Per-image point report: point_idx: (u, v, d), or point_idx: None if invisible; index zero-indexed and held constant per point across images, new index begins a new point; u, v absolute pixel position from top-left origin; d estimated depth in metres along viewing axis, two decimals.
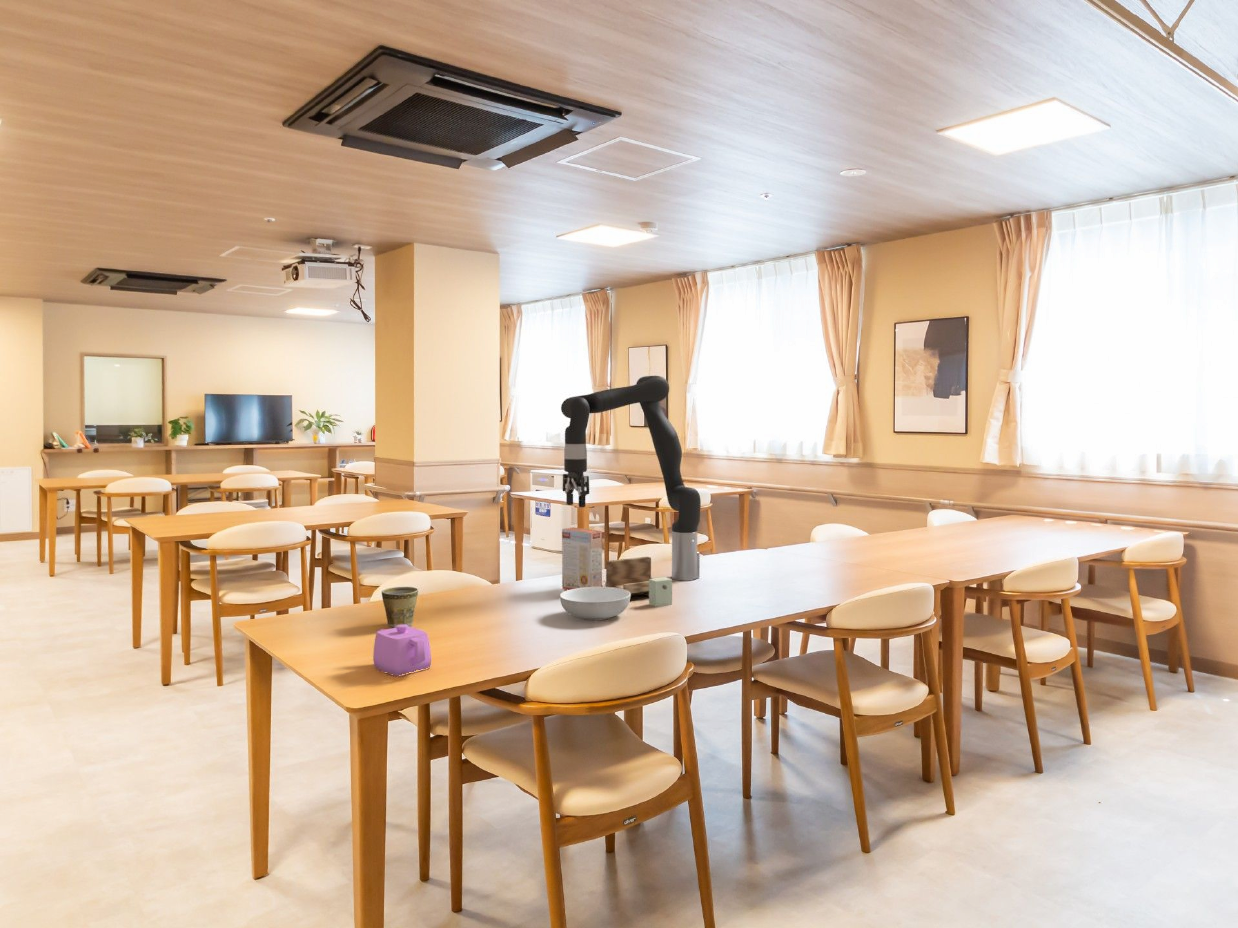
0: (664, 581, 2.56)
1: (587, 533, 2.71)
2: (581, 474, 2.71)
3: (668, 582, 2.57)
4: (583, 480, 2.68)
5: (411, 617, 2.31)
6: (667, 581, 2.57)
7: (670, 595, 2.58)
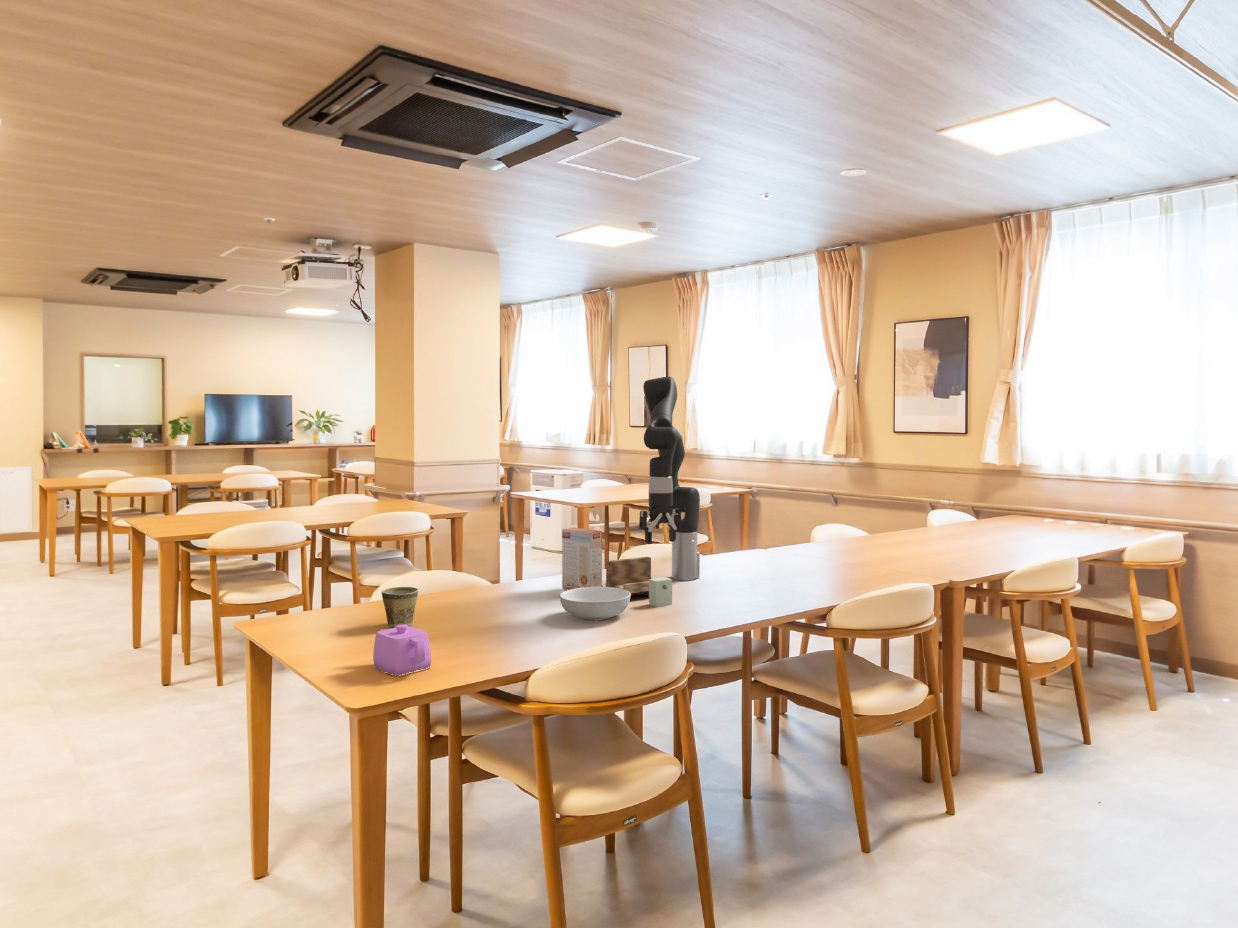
0: (664, 581, 2.56)
1: (587, 533, 2.71)
2: None
3: (668, 582, 2.57)
4: None
5: (411, 617, 2.31)
6: (667, 581, 2.57)
7: (670, 595, 2.58)
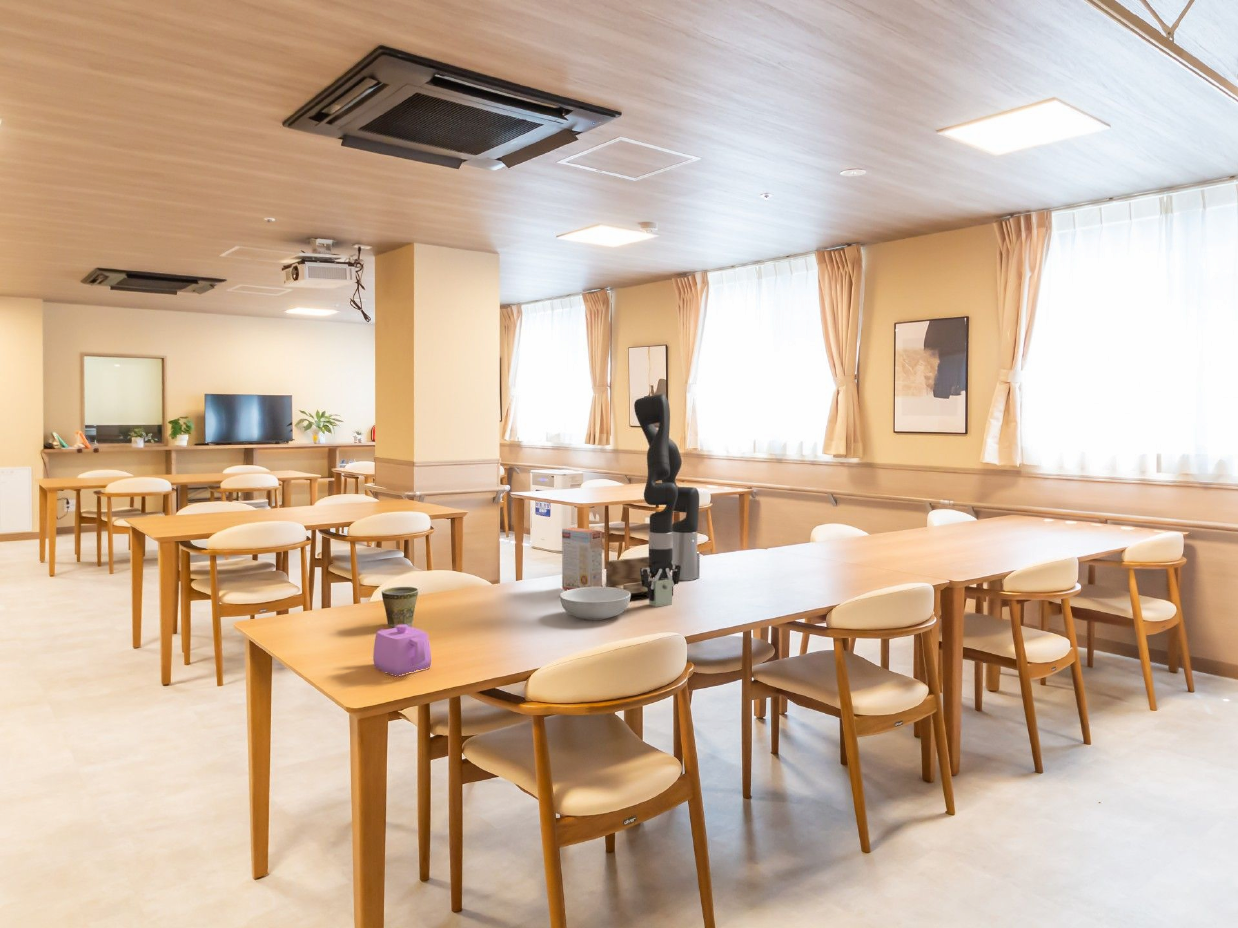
0: (664, 581, 2.56)
1: (587, 533, 2.71)
2: None
3: (668, 582, 2.57)
4: None
5: (411, 617, 2.31)
6: (667, 581, 2.57)
7: (670, 595, 2.58)
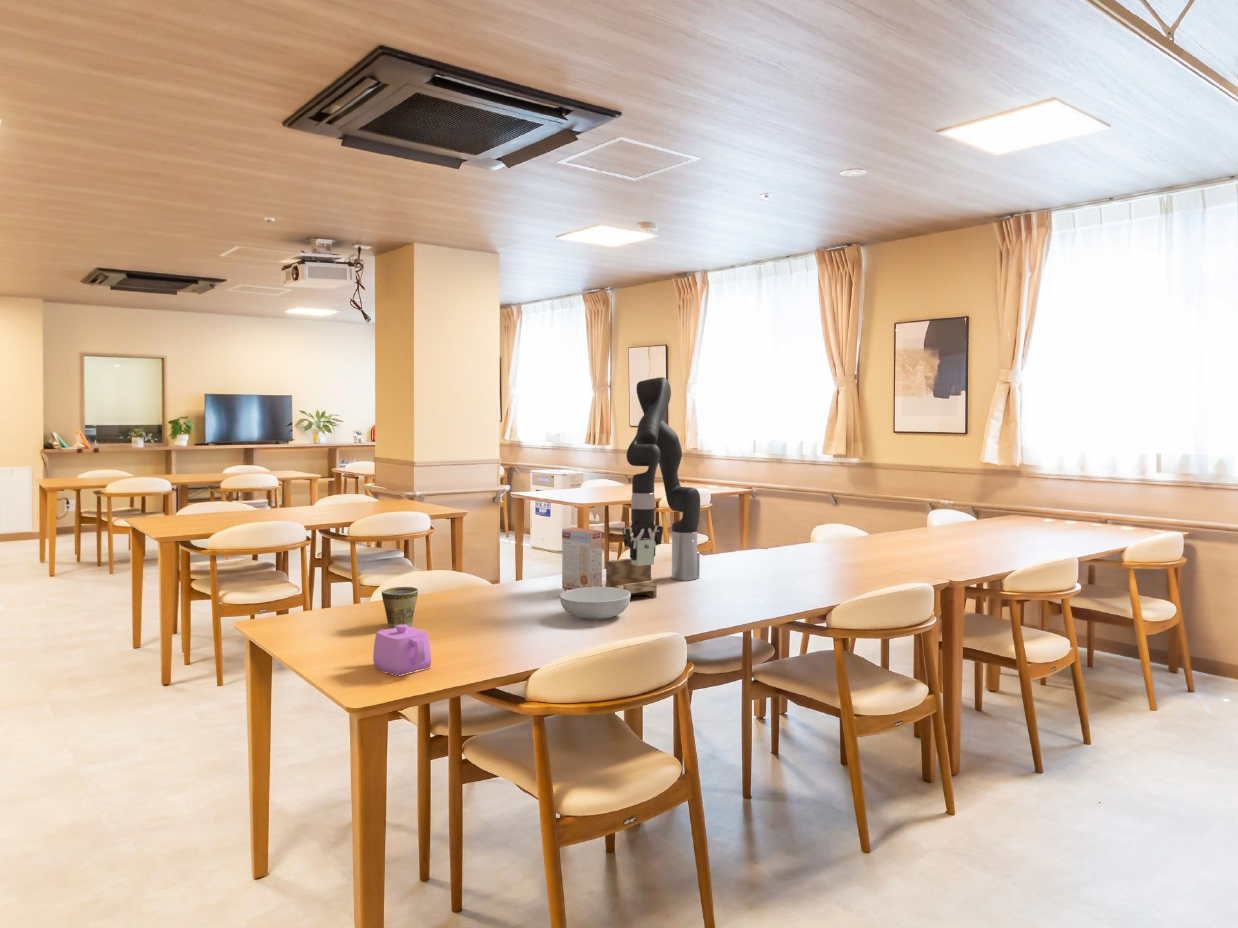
0: (646, 541, 2.61)
1: (587, 533, 2.71)
2: None
3: (650, 542, 2.61)
4: None
5: (411, 617, 2.31)
6: (649, 541, 2.61)
7: (652, 555, 2.62)
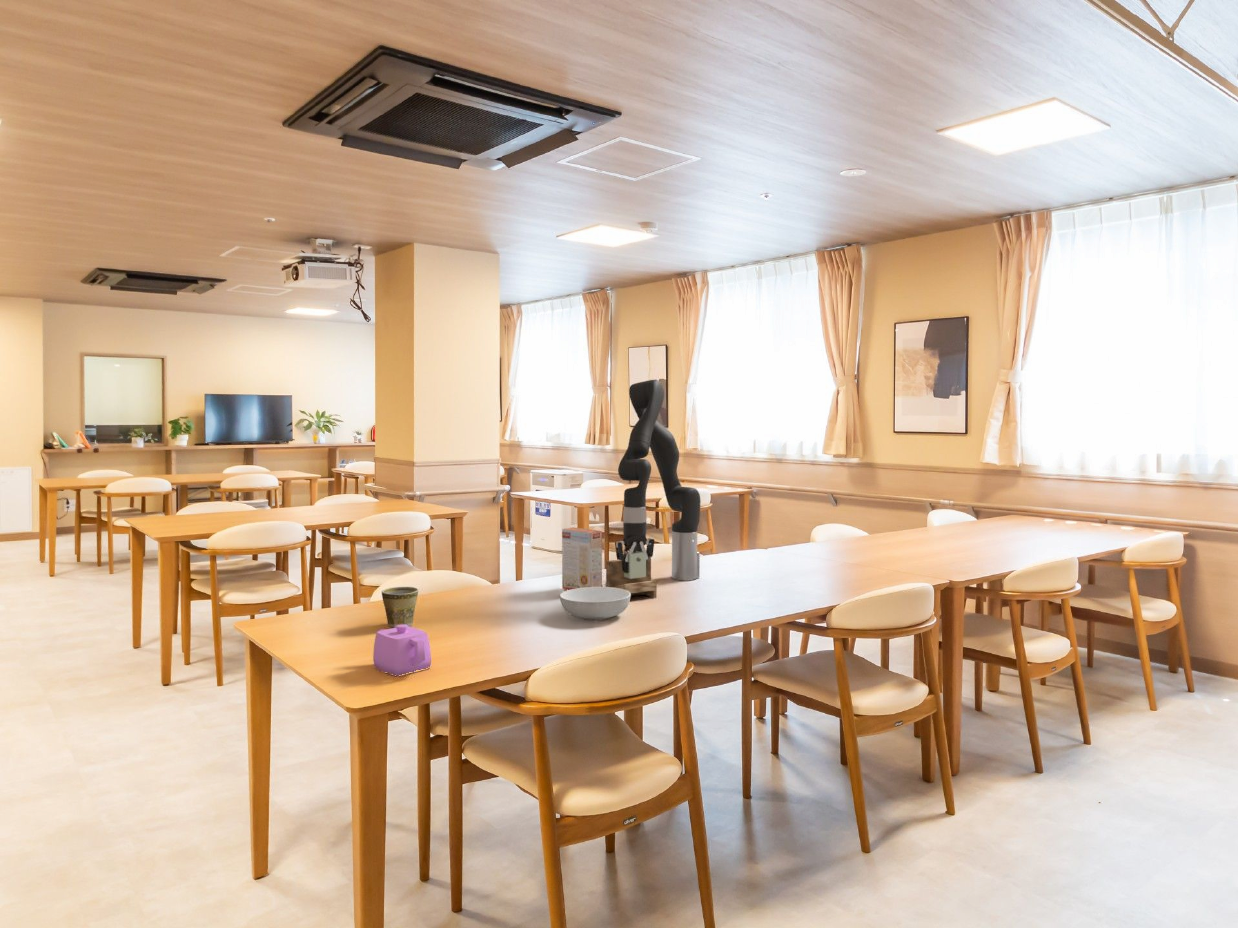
0: (638, 554, 2.66)
1: (587, 533, 2.71)
2: None
3: (642, 555, 2.66)
4: None
5: (411, 617, 2.31)
6: (641, 554, 2.66)
7: (644, 567, 2.67)
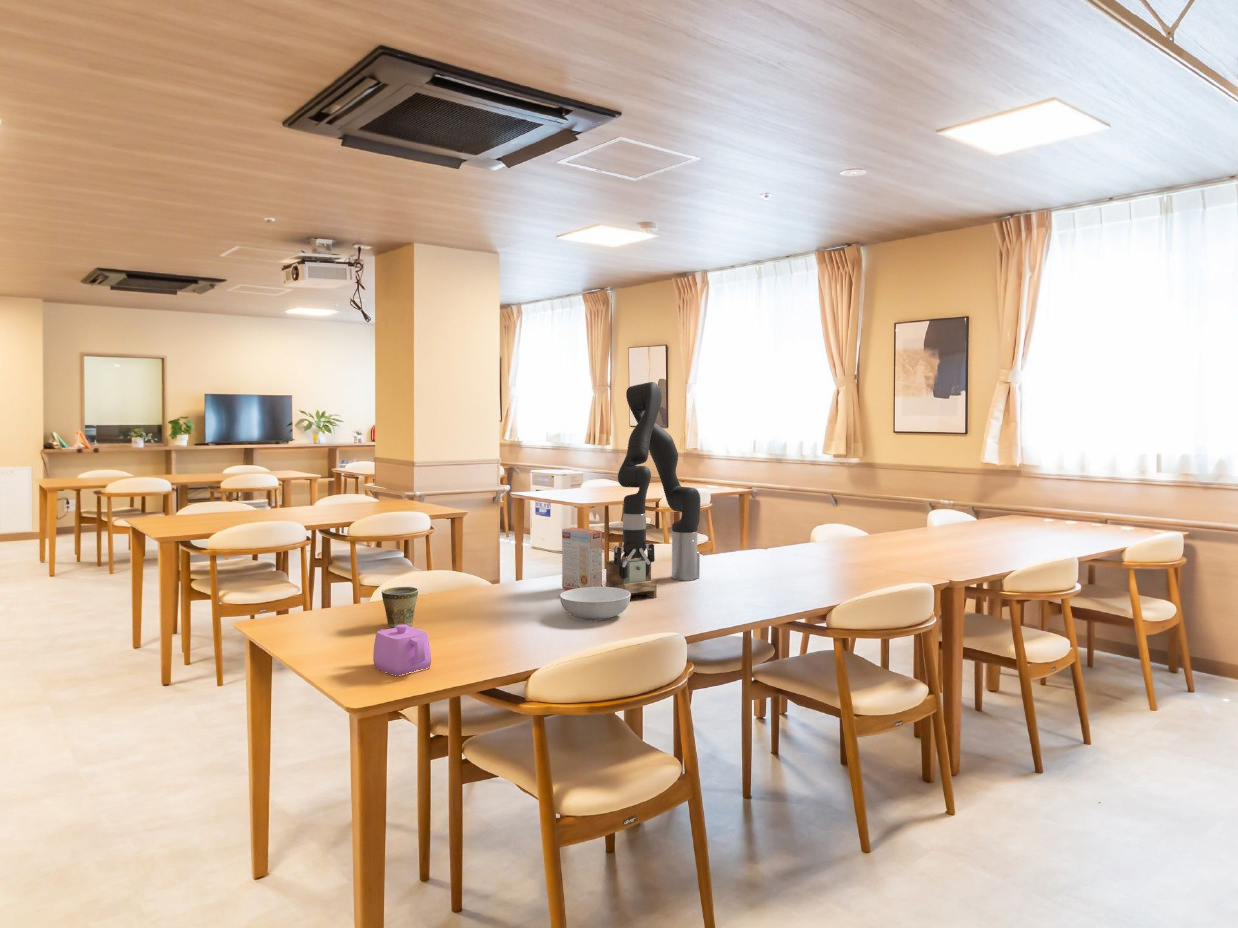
0: (638, 562, 2.66)
1: (587, 533, 2.71)
2: None
3: (642, 563, 2.67)
4: None
5: (411, 617, 2.31)
6: (641, 562, 2.66)
7: (644, 576, 2.67)
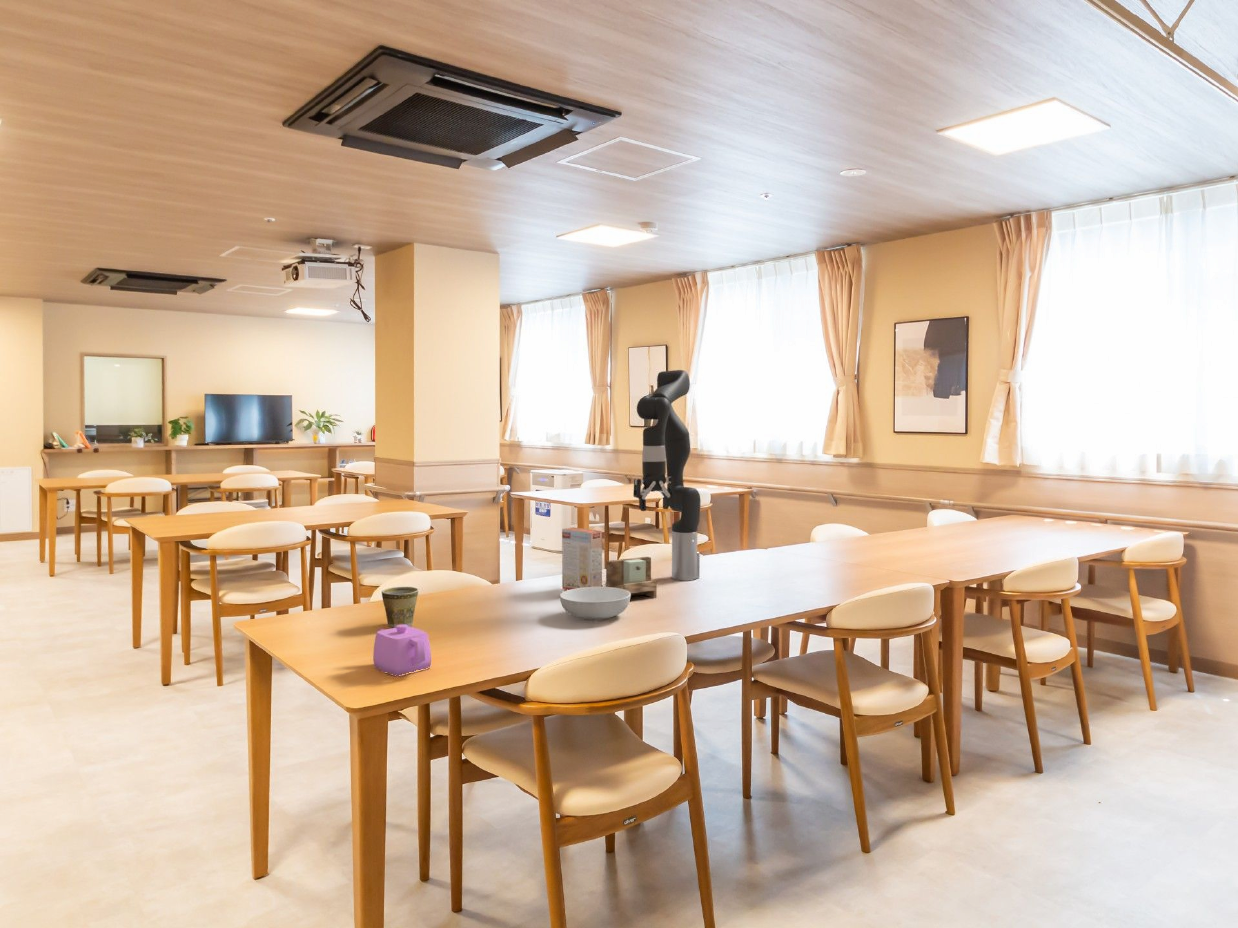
0: (638, 562, 2.66)
1: (587, 533, 2.71)
2: None
3: (642, 563, 2.67)
4: None
5: (411, 617, 2.31)
6: (641, 562, 2.66)
7: (644, 576, 2.67)
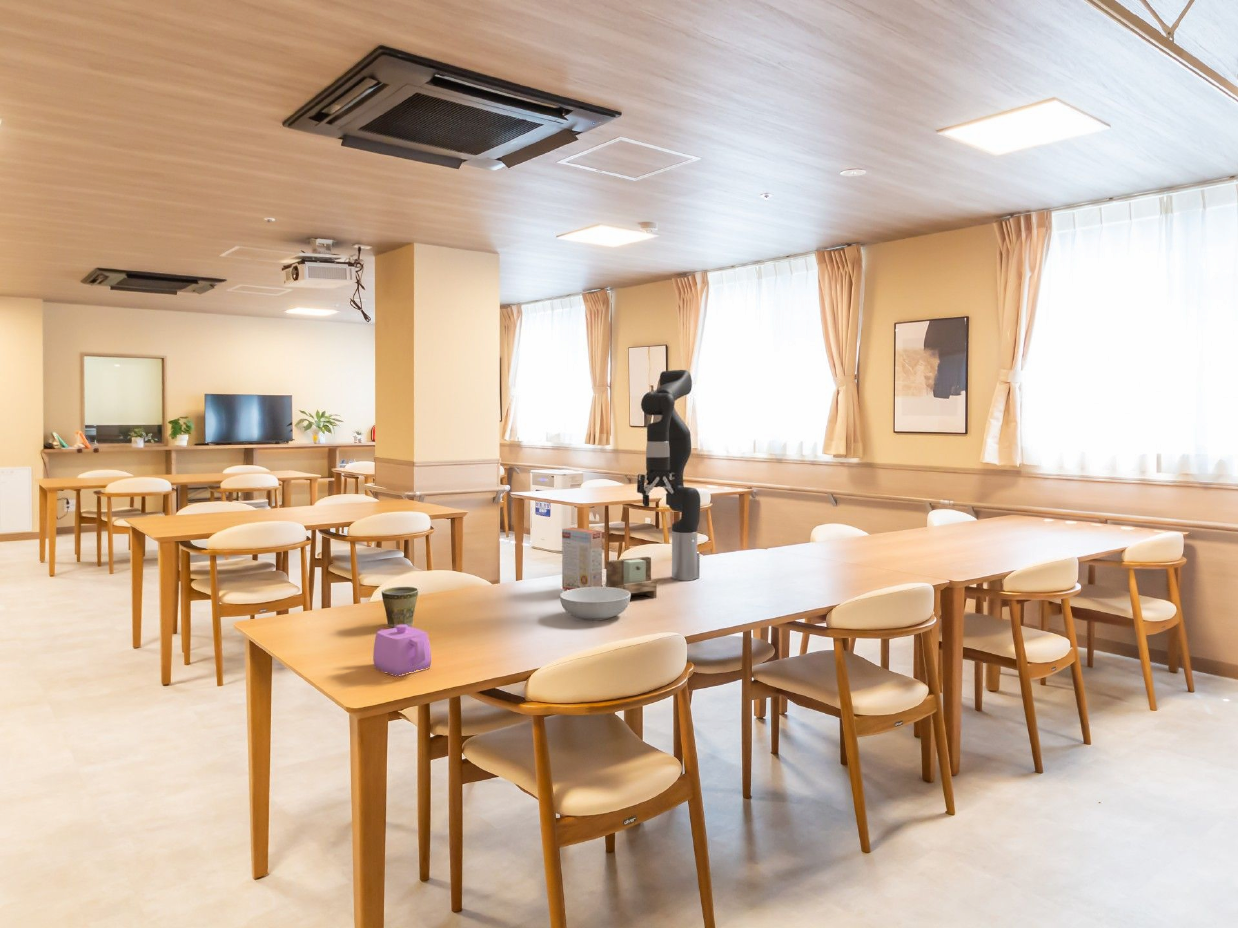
0: (638, 562, 2.66)
1: (587, 533, 2.71)
2: None
3: (642, 563, 2.67)
4: None
5: (411, 617, 2.31)
6: (641, 562, 2.66)
7: (644, 576, 2.67)
